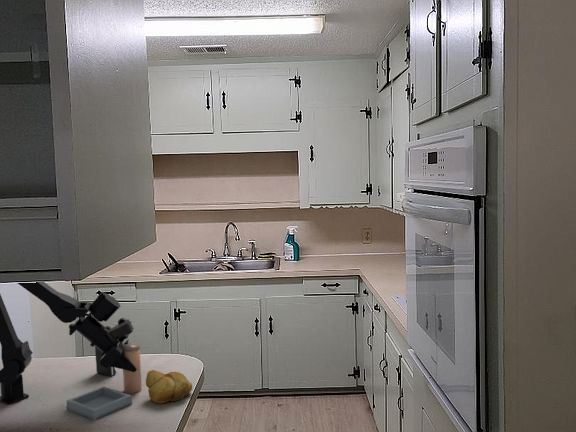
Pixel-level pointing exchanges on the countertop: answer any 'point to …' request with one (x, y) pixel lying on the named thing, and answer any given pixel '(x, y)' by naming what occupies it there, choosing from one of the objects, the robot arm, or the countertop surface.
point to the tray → (99, 402)
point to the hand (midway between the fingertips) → (136, 367)
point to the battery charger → (100, 369)
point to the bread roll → (167, 386)
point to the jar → (130, 378)
